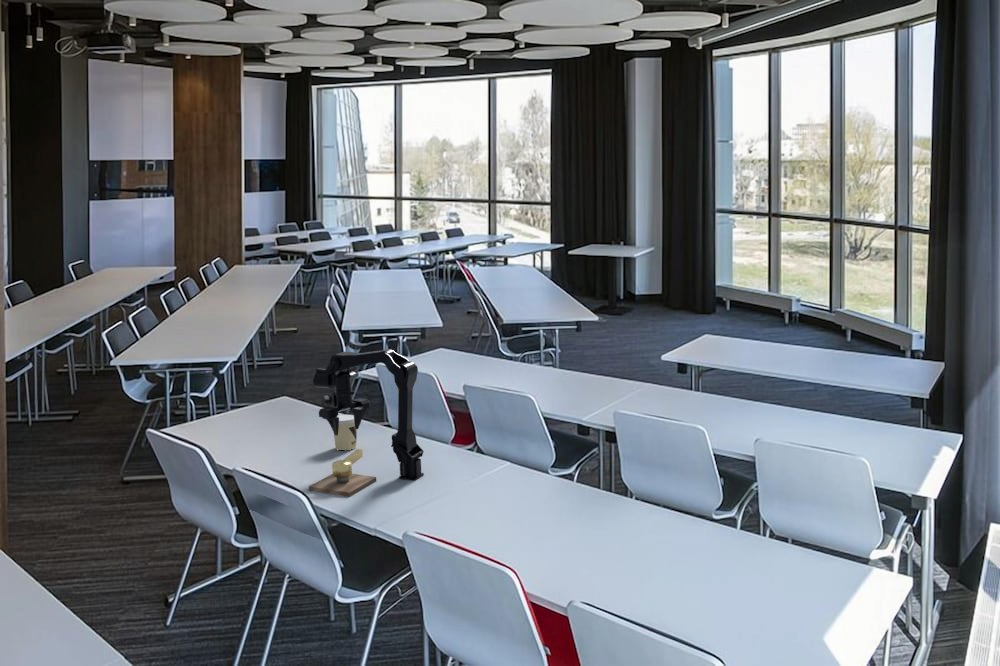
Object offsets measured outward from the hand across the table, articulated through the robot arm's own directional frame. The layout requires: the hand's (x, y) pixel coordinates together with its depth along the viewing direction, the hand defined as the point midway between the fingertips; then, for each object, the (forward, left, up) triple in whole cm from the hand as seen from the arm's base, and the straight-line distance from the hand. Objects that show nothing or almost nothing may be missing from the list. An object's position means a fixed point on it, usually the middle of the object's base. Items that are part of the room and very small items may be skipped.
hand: (346, 432), depth 321 cm
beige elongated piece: (-7, +9, -10) cm, 15 cm away
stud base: (-8, +15, -14) cm, 22 cm away
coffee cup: (+15, -21, -14) cm, 29 cm away
